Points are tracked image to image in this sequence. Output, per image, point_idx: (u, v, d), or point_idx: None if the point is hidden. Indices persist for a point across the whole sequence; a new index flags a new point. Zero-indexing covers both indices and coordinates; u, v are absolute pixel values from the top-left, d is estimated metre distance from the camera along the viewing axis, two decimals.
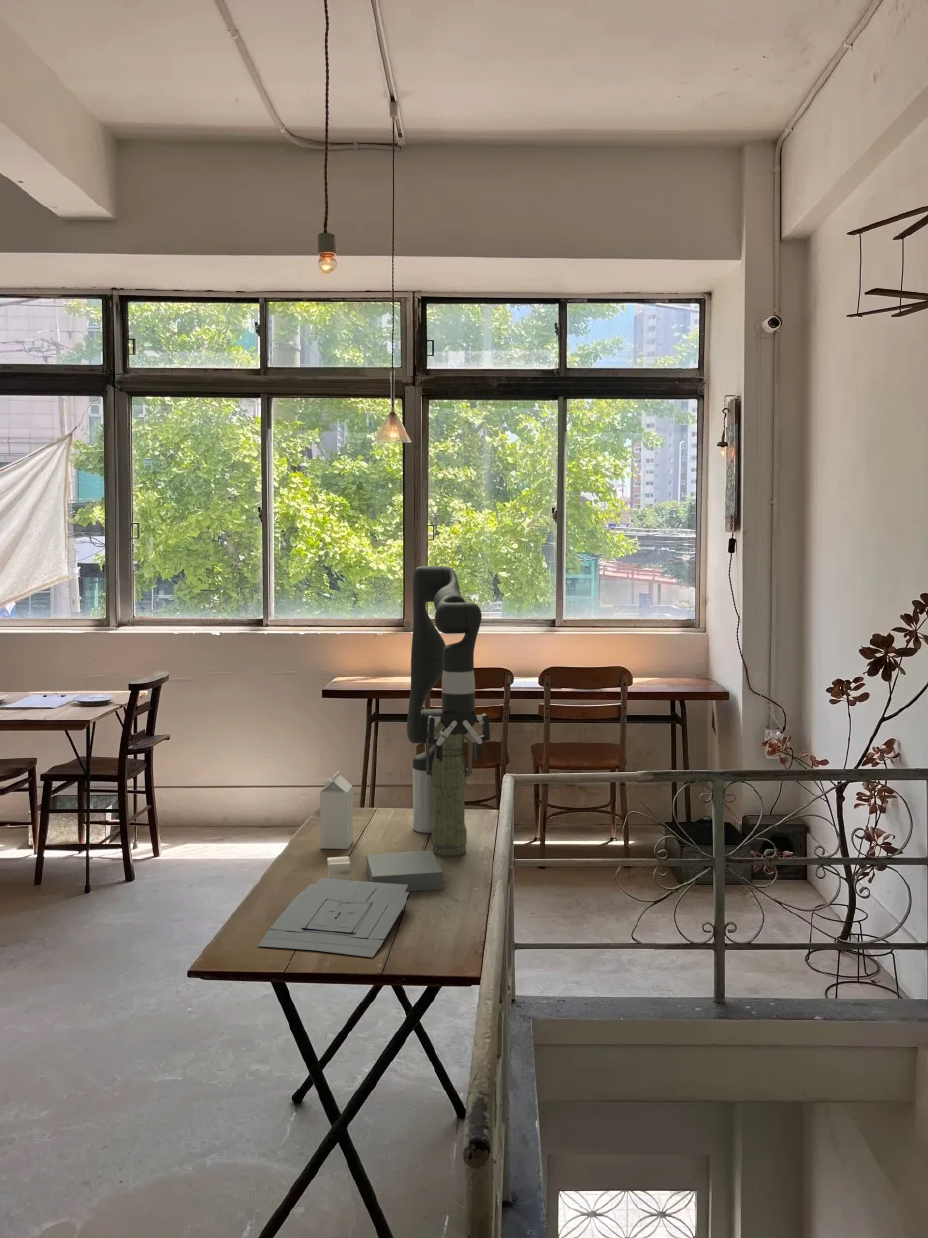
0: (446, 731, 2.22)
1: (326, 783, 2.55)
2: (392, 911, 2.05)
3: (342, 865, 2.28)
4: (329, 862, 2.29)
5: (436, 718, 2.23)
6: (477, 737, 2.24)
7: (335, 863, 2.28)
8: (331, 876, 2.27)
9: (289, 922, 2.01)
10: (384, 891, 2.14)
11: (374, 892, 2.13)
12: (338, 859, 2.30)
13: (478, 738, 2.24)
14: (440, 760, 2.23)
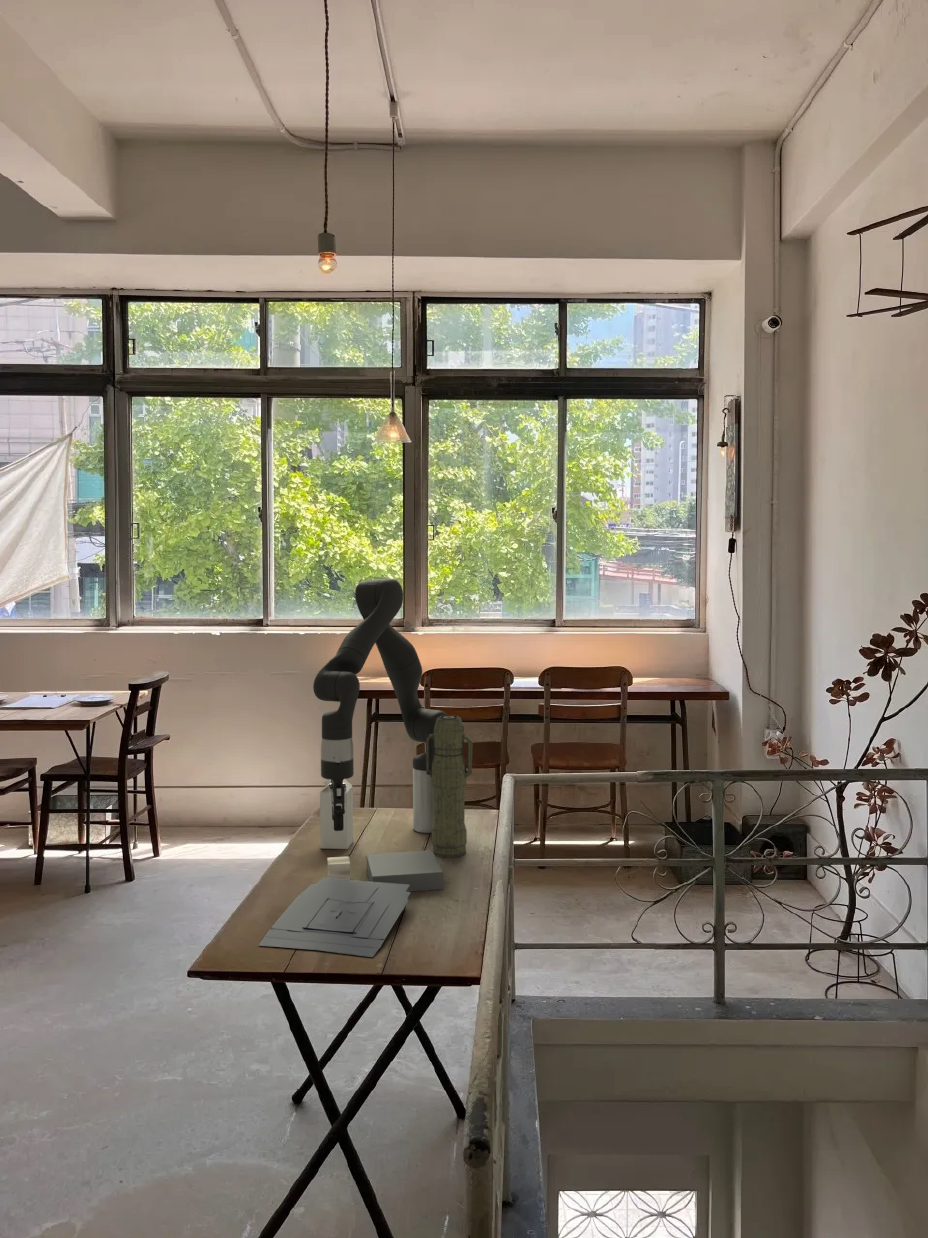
0: (345, 798, 2.26)
1: (326, 783, 2.55)
2: (393, 911, 2.05)
3: (342, 865, 2.28)
4: (329, 862, 2.29)
5: None
6: None
7: (335, 863, 2.28)
8: (331, 876, 2.27)
9: (290, 921, 2.02)
10: (386, 891, 2.14)
11: (375, 892, 2.14)
12: (338, 859, 2.30)
13: None
14: (343, 828, 2.25)
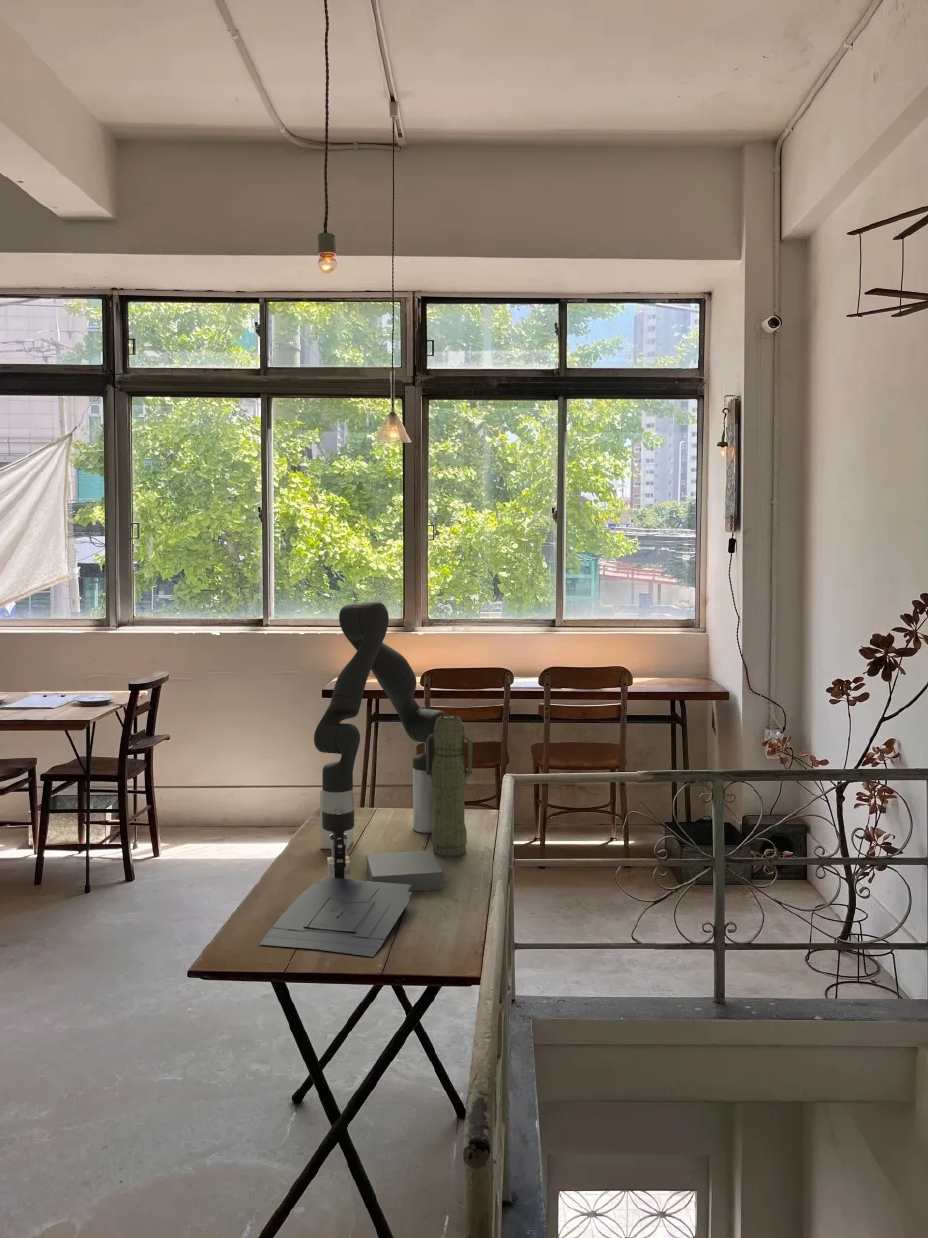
0: None
1: None
2: (394, 910, 2.05)
3: None
4: (329, 862, 2.29)
5: (341, 843, 2.25)
6: None
7: None
8: (331, 875, 2.27)
9: (291, 921, 2.02)
10: (387, 891, 2.14)
11: (377, 892, 2.14)
12: (338, 859, 2.30)
13: None
14: None
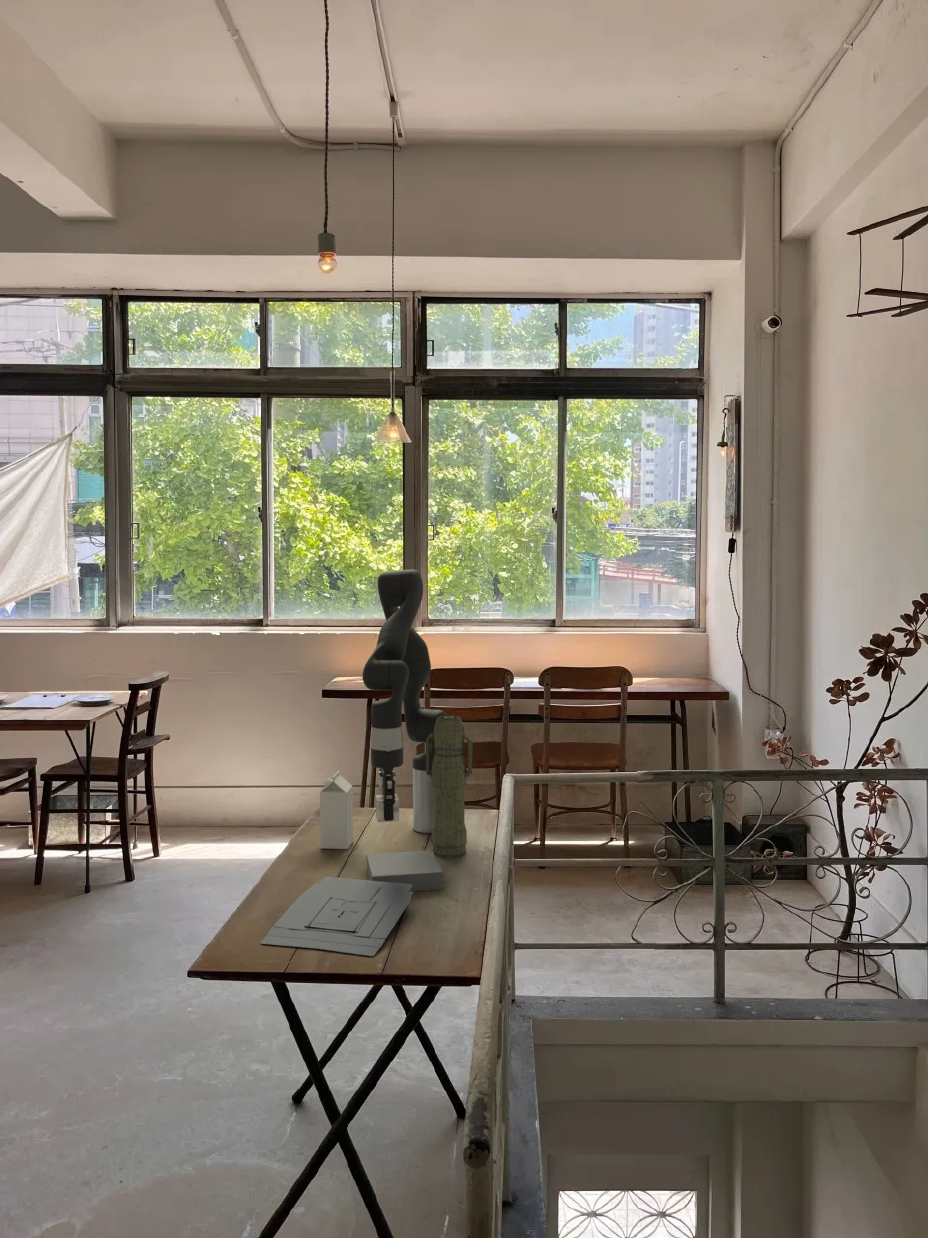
0: None
1: (326, 783, 2.55)
2: (395, 910, 2.05)
3: None
4: (378, 799, 2.28)
5: (391, 779, 2.24)
6: None
7: None
8: (380, 812, 2.27)
9: (292, 920, 2.02)
10: (388, 891, 2.14)
11: (378, 891, 2.14)
12: (387, 797, 2.30)
13: None
14: None
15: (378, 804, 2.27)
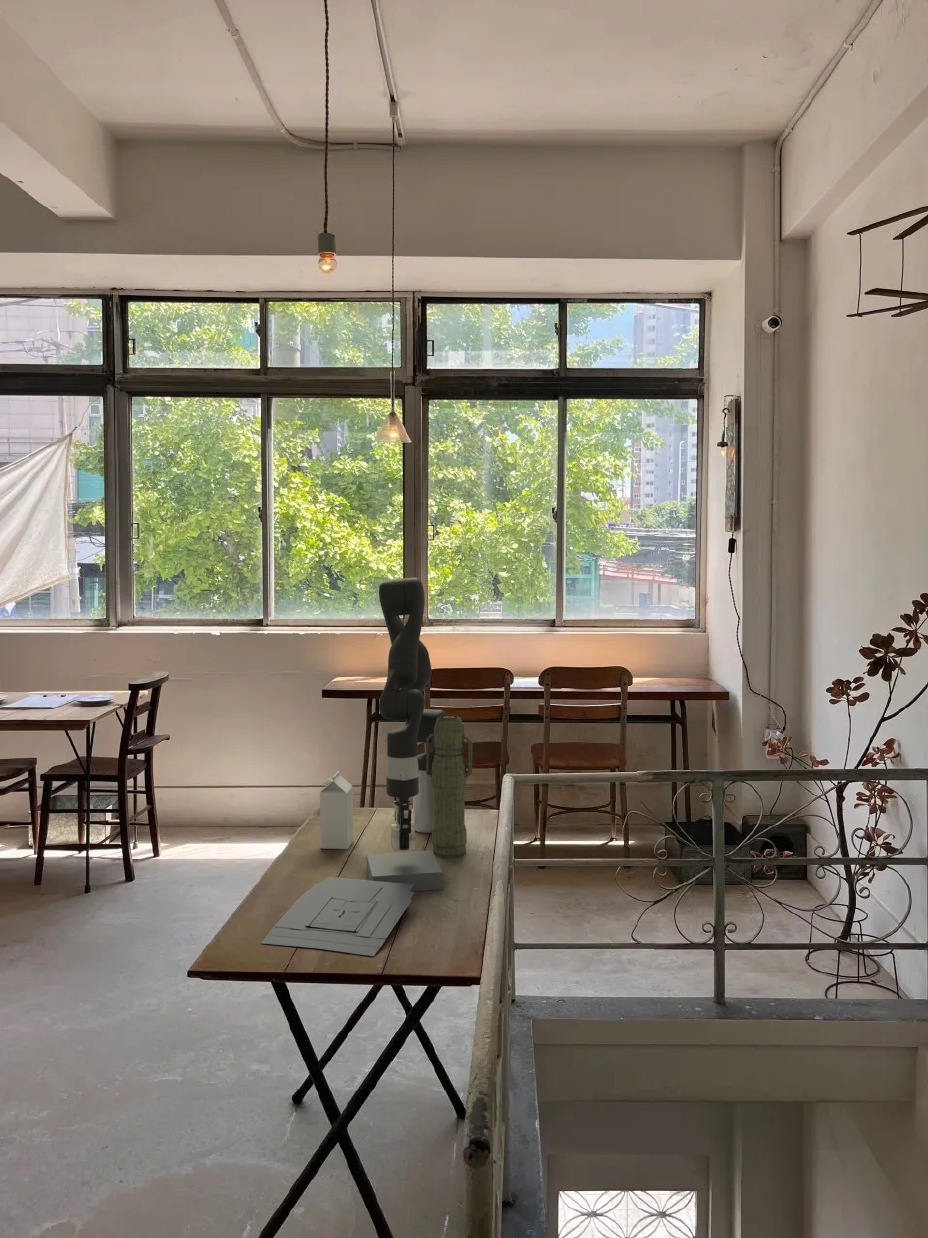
0: None
1: (326, 783, 2.55)
2: (395, 910, 2.05)
3: None
4: (393, 828, 2.29)
5: (407, 809, 2.25)
6: None
7: None
8: (395, 841, 2.27)
9: (293, 920, 2.03)
10: (389, 891, 2.14)
11: (379, 891, 2.14)
12: None
13: None
14: None
15: (394, 833, 2.27)
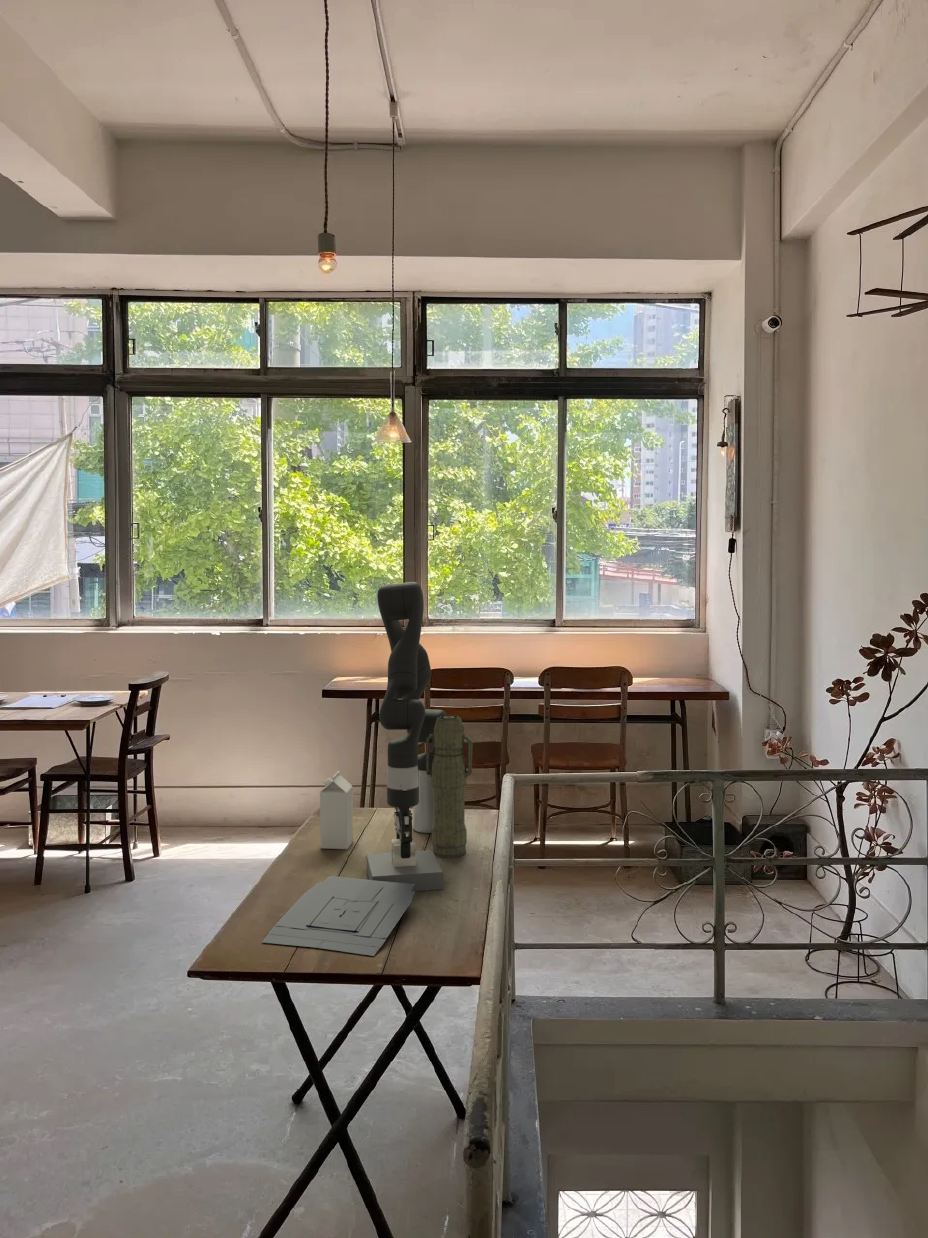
0: None
1: (326, 783, 2.55)
2: (396, 910, 2.05)
3: None
4: (394, 843, 2.29)
5: None
6: None
7: (400, 844, 2.28)
8: (396, 857, 2.28)
9: (294, 919, 2.03)
10: (391, 890, 2.14)
11: (381, 891, 2.14)
12: None
13: None
14: None
15: (394, 849, 2.28)
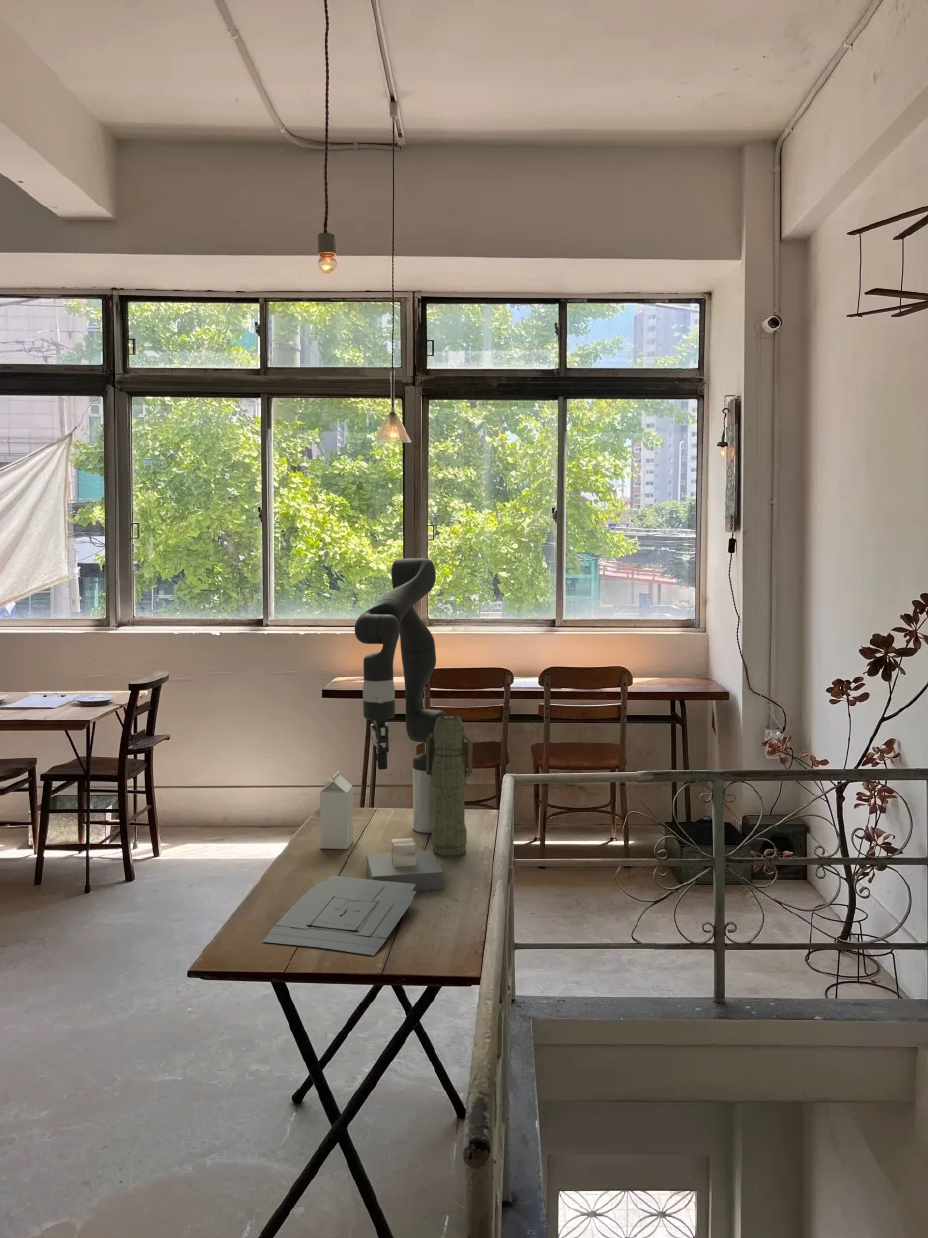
0: None
1: (326, 783, 2.55)
2: (397, 910, 2.05)
3: (407, 847, 2.28)
4: (394, 843, 2.29)
5: None
6: None
7: (400, 844, 2.28)
8: (396, 857, 2.28)
9: (295, 919, 2.03)
10: (391, 890, 2.14)
11: (381, 891, 2.14)
12: (403, 841, 2.31)
13: None
14: None
15: (394, 849, 2.28)
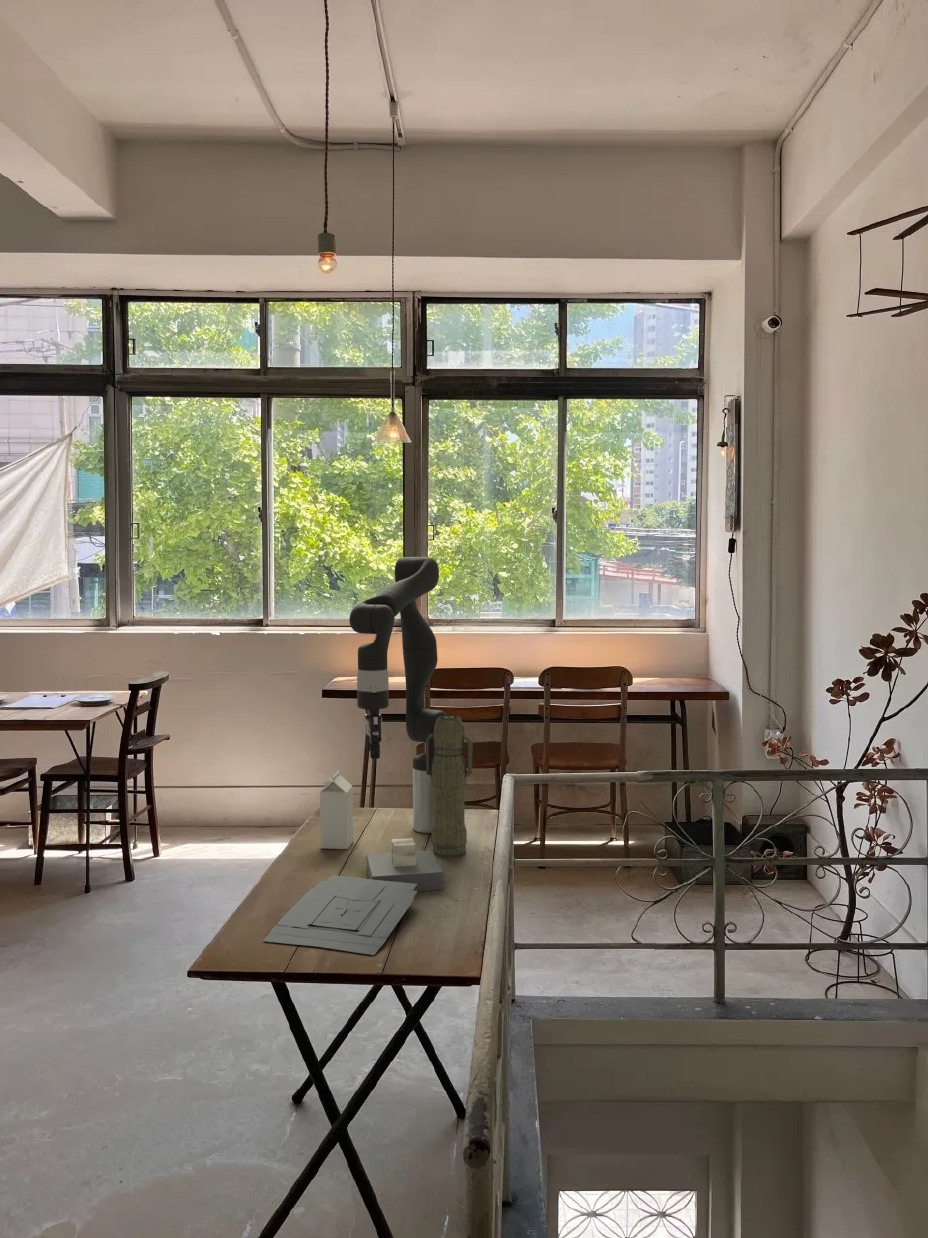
0: None
1: (326, 783, 2.55)
2: (398, 909, 2.06)
3: (407, 847, 2.28)
4: (394, 843, 2.29)
5: None
6: None
7: (400, 844, 2.28)
8: (396, 857, 2.28)
9: (296, 918, 2.03)
10: (393, 890, 2.15)
11: (382, 890, 2.14)
12: (403, 841, 2.31)
13: None
14: (379, 756, 2.32)
15: (394, 849, 2.28)
